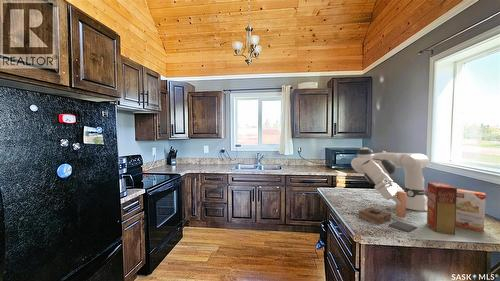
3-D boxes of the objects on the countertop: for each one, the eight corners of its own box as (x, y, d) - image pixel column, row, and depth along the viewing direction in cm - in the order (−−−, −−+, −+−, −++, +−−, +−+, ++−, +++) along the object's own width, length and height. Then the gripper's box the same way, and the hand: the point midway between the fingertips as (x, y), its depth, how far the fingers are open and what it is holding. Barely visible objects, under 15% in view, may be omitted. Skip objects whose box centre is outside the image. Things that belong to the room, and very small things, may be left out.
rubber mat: (397, 222, 133) (397, 220, 133) (416, 228, 125) (416, 226, 125) (388, 225, 128) (389, 224, 128) (408, 232, 119) (408, 230, 119)
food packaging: (425, 222, 132) (427, 181, 131) (445, 225, 129) (446, 183, 128) (434, 232, 120) (436, 186, 119) (456, 235, 117) (458, 188, 116)
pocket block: (369, 213, 147) (370, 207, 147) (390, 220, 136) (391, 213, 136) (358, 217, 140) (358, 211, 140) (379, 224, 129) (379, 218, 129)
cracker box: (449, 224, 130) (451, 189, 129) (450, 221, 134) (451, 187, 133) (484, 232, 120) (486, 194, 119) (483, 229, 124) (485, 192, 123)
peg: (398, 214, 130) (399, 190, 129) (406, 216, 126) (408, 192, 125) (394, 215, 127) (395, 191, 127) (403, 218, 123) (404, 193, 123)
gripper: (386, 183, 141) (404, 202, 134) (373, 188, 129) (391, 209, 121) (395, 177, 138) (413, 196, 130) (381, 182, 125) (400, 203, 118)
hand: (402, 203), depth 126 cm, fingers closed on peg, 4 cm apart
